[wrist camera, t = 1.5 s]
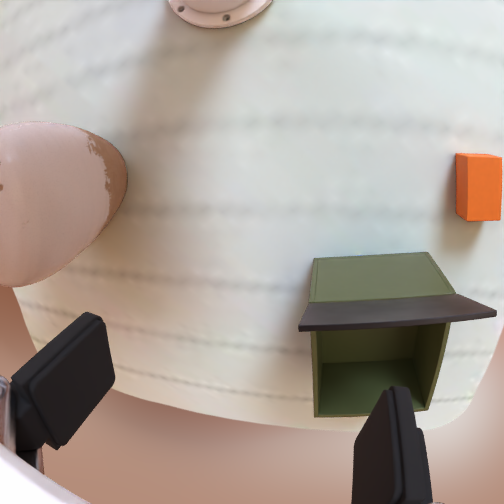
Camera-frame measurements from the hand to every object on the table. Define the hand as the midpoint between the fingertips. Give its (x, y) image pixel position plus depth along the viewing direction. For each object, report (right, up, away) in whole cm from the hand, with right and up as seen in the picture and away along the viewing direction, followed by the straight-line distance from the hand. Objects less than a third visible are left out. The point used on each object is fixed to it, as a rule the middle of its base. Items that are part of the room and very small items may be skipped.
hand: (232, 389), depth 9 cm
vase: (-19, +14, +28) cm, 36 cm away
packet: (+24, +12, +18) cm, 32 cm away
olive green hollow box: (+15, -3, +26) cm, 30 cm away
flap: (+11, 0, +11) cm, 15 cm away
